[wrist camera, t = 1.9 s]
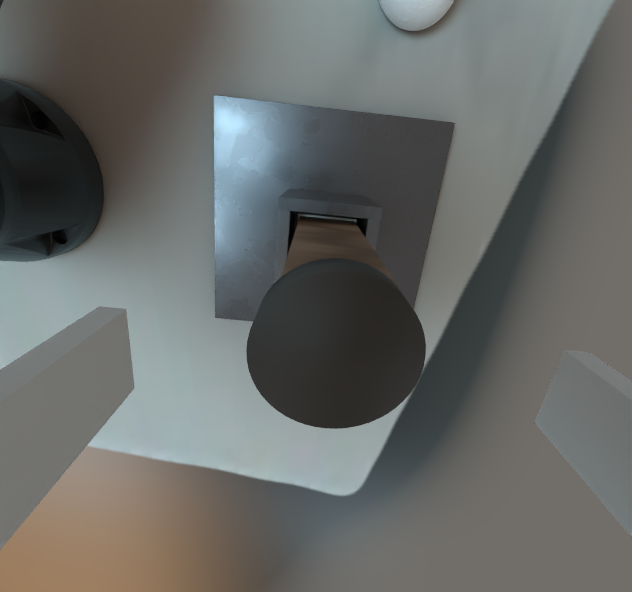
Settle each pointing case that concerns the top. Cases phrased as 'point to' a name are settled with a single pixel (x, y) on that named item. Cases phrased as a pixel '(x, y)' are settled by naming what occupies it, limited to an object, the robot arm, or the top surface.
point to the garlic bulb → (415, 12)
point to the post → (334, 330)
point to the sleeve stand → (318, 189)
